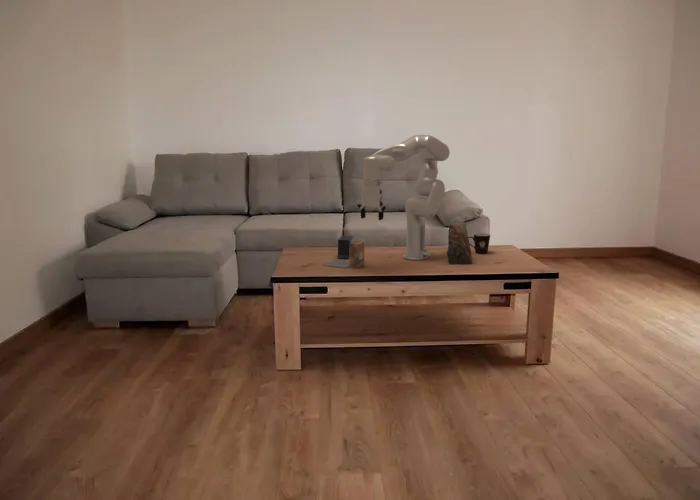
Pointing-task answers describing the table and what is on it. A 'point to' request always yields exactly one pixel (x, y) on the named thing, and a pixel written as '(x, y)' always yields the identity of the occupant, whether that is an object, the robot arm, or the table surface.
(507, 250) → the table surface
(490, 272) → the table surface
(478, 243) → the coffee mug
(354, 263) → the walnut block
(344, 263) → the mat
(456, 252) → the brown grey rock
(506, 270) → the table surface
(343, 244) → the small box
